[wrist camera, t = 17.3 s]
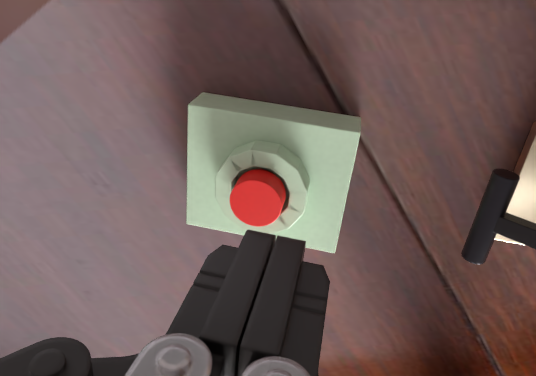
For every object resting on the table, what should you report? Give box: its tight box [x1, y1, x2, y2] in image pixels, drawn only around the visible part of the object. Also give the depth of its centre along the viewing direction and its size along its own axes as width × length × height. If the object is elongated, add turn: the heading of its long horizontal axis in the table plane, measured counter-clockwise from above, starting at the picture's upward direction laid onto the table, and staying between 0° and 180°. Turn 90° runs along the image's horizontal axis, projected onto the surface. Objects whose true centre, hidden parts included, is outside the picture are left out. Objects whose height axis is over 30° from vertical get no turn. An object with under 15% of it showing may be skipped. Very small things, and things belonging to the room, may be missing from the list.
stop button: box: [230, 169, 286, 227], centre depth 30 cm, size 4×4×2 cm
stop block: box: [186, 92, 361, 253], centre depth 33 cm, size 12×10×5 cm
